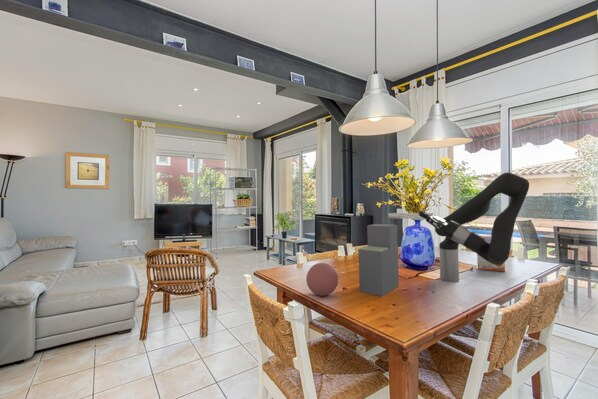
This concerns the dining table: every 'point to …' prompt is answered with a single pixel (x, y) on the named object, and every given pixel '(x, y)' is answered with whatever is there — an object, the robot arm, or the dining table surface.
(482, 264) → the cracker box
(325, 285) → the mauve oval ball
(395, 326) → the dining table surface
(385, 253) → the stepped shelf
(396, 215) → the flanged bar
